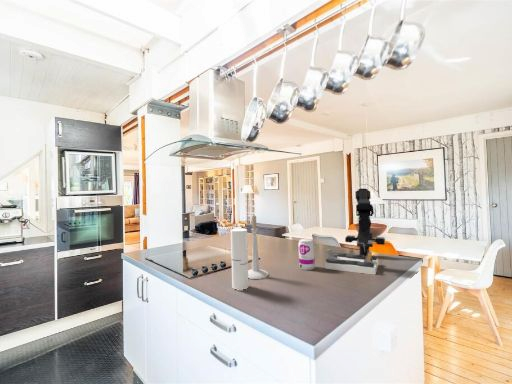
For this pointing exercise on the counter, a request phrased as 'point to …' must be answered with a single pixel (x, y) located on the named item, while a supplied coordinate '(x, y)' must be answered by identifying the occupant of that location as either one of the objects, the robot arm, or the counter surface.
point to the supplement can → (306, 254)
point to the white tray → (352, 267)
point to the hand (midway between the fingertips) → (365, 256)
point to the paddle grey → (330, 253)
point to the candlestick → (255, 256)
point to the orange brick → (369, 255)
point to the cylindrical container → (239, 259)
